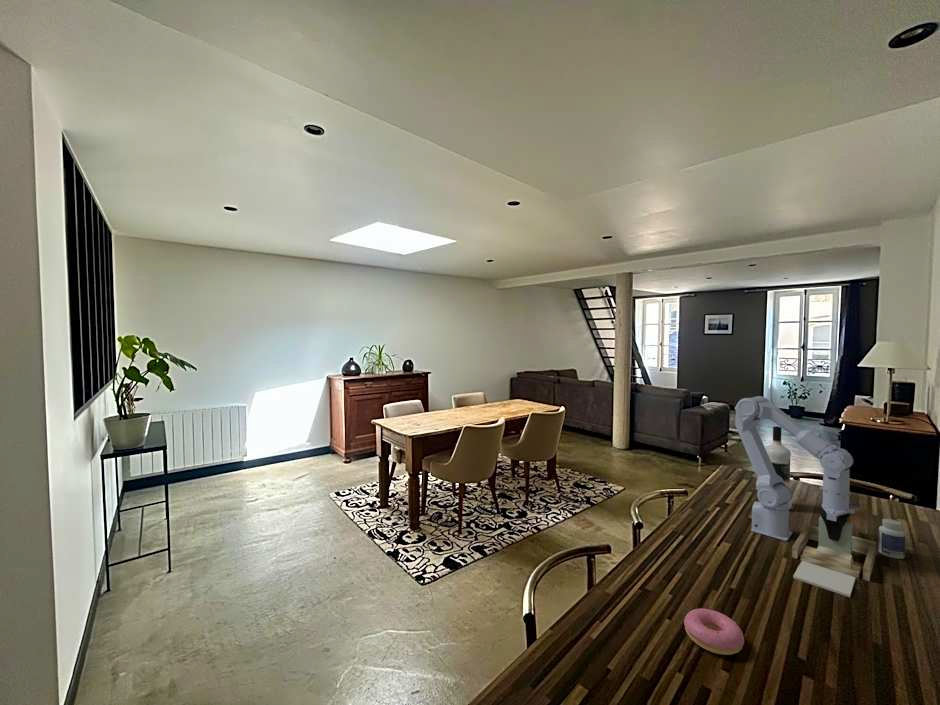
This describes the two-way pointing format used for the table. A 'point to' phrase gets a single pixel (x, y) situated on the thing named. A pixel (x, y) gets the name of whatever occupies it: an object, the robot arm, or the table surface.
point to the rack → (835, 554)
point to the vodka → (780, 458)
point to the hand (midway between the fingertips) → (834, 537)
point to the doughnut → (714, 631)
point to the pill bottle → (892, 539)
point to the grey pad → (825, 578)
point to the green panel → (841, 545)
